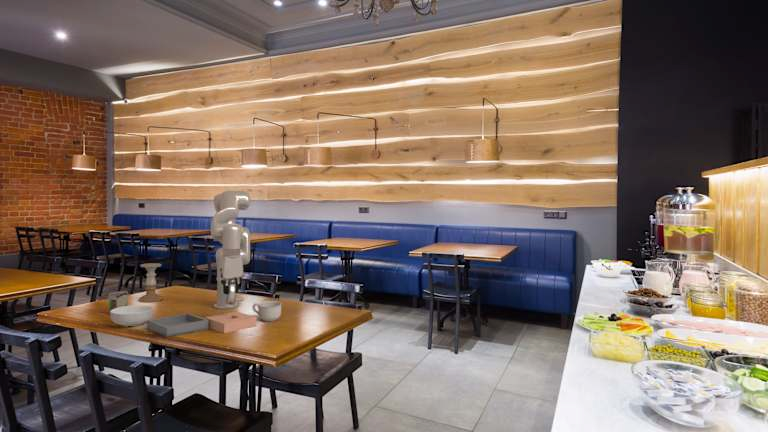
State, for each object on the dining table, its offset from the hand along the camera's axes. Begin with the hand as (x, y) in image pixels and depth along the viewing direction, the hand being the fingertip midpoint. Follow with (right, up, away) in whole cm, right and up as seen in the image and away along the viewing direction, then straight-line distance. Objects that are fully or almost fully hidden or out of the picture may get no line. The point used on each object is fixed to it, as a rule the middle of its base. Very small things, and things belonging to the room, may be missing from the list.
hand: (230, 292), depth 201 cm
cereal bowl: (-44, -14, 0) cm, 46 cm away
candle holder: (-62, -13, +50) cm, 81 cm away
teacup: (+13, -15, +13) cm, 24 cm away
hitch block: (0, -15, 0) cm, 15 cm away
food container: (-63, -14, +19) cm, 67 cm away
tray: (-21, -15, -6) cm, 26 cm away
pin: (0, -5, 0) cm, 5 cm away
